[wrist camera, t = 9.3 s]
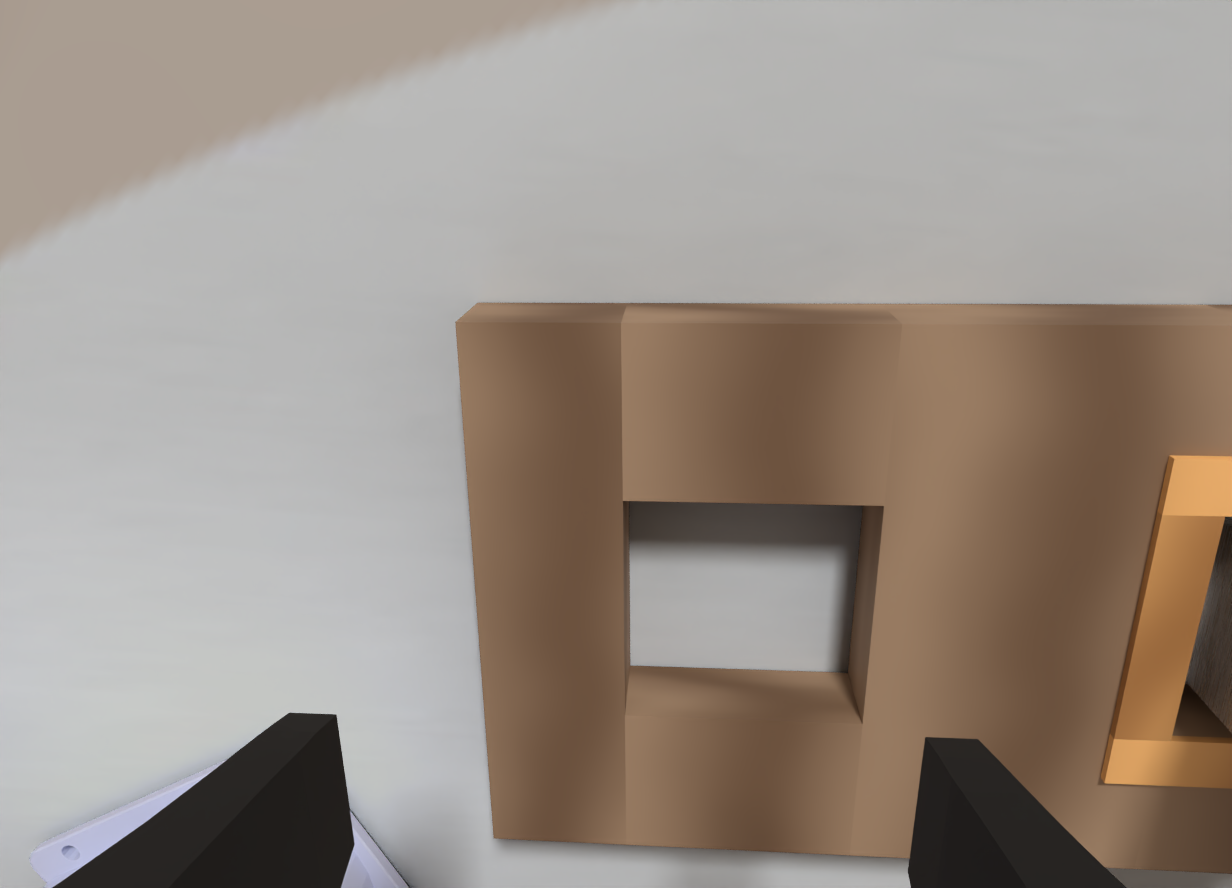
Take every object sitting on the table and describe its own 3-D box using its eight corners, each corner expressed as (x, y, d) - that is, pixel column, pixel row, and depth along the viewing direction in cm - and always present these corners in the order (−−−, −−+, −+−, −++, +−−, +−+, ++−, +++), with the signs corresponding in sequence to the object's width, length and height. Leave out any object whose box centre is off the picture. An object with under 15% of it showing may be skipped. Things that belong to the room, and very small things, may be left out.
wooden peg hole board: (508, 782, 24) (492, 844, 22) (477, 302, 20) (452, 324, 18) (1459, 823, 22) (1538, 895, 20) (1661, 305, 18) (1788, 330, 16)
